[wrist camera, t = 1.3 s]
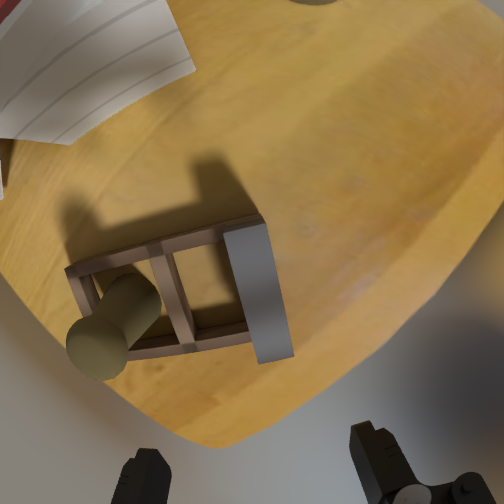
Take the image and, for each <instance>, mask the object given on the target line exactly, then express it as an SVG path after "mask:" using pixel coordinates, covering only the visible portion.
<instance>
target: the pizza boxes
mask: <svg viewBox="0 0 504 504" xmlns="http://www.w3.org/2000/svg"><path fill="white" fill-rule="evenodd" d="M195 71H196V68H195V66H194V64H193V61H192V59H191V57H190V54H189V52H188V50H187V47H186V45H185V43H184V40H183V38H182V36H181V34H180V31H179V29H178V27H177V24H176V22H175V20H174V18H173V15H172V13H171V11H170V9H169V6H168V4H167V2H166V0H0V138H9V139H20V140H30V141H39V142H48V143H56V144H63V145H71V144H72V143H74V142H75V141H76V140H78V139H79V138H80V137H82V136H83V135H84V134H86V133H87V132H89V131H90V130H91V129H93V128H94V127H96V126H97V125H99V124H100V123H102V122H103V121H105V120H106V119H108V118H109V117H111V116H112V115H114V114H116V113H117V112H119V111H120V110H122V109H124V108H125V107H127V106H129V105H130V104H132V103H134V102H136V101H137V100H139V99H141V98H143V97H144V96H146V95H148V94H150V93H152V92H154V91H156V90H157V89H159V88H161V87H163V86H165V85H167V84H169V83H171V82H173V81H175V80H177V79H179V78H182V77H184V76H186V75H188V74H190V73H193V72H195ZM3 198H4V196H3V187H2V177H1V162H0V200H1V199H3Z"/></svg>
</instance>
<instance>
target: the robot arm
mask: <svg viewBox="0 0 504 504" xmlns="http://www.w3.org/2000/svg"><path fill="white" fill-rule="evenodd" d="M291 1H294V2H297V3H302V4H308V5H324V4H329V3H332V2H334V1H336V0H291ZM349 448H350V453H351V457H352V460H353V462H354V465H355V468H356V471H357V473H358V476H359V479H360V481H361V484H362V487H363V490H364V492H365V495H366V498H367V501H368V504H496V502H495V500H494V498H493V496H492V494H491V492H490V490H489V489H488V487H487V485H486V483H485V481H484V480H483V478H482V476H481V475H480V474H478V473H475V472H467V473H464V474H462V475H461V476H459V477H458V478H457V479H456V480H455V481H454V482H450V483H446V484H442V485H437V486H427V485H424V484H422V483H420V482H419V481H418V480H417V479H416V477H415V475H414V473H413V471H412V469H411V468H410V466H409V464H408V462H407V460H406V458H405V456H404V454H403V453H402V451H401V448H400V447H399V446H398V443H397V441H396V439H395V437H394V436H393V434H391V433H390V432H389V431H388V430H386V429H385V428H381V429H379V430H376V431H375V429H374V427H373V425H372V423H371V422H370V421H369V420H368V421H365V422H362V423H358V424H355V425H352V426H351V434H350V443H349ZM120 475H121V477H119V481H118V484H117V486H116V489H115V492H114V495H113V498H112V501H111V504H167V499H168V494H169V488H170V483H171V478H172V475H171V469H170V466H169V465H168V464H167V462H166V461H165V460H164V458H163V457H162V455H161V454H160V452H159V451H158V450H157V449H148V448H139V449H138V451H137V454H136V456H135V458H130V459H129V460H128V461H127V463H126V464H125V465H124V466H123V468H122V471H121V474H120Z"/></svg>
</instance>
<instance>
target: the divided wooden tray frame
mask: <svg viewBox="0 0 504 504" xmlns="http://www.w3.org/2000/svg"><path fill="white" fill-rule="evenodd" d="M223 240H225V243H226V247H227V251H228V255H229V259H230V262H231V266H232V270H233V274H234V277H235V281H236V285H237V289H238V292H239V296H240V300H241V303H242V307H243V310H244V314H245V318H246V321H243V322H238V323H233V324H228V325H223V326H218V327H213V328H208V329H202V330H198V329H197V327H196V324H195V321H194V318H193V315H192V313H191V310H190V307H189V304H188V301H187V298H186V295H185V292H184V289H183V286H182V283H181V280H180V277H179V274H178V270H177V267H176V264H175V261H174V257H173V254H172V253H174V252H178V251H182V250H186V249H190V248H194V247H198V246H202V245H206V244H210V243H214V242H218V241H223ZM146 259H150V262H151V265H152V268H153V271H154V275H155V277H156V280H157V283H158V286H159V289H160V292H161V295H162V298H163V300H164V303H165V306H166V309H167V311H168V314H169V317H170V319H171V322H172V324H173V327H174V330H175V332H176V334H174V335H168V336H162V337H156V338H149V339H142V340H137V341H136V342H135V343H134V344H133V345H132V346H131V347H130V348H129V355H128V361H133V360H142V359H151V358H159V357H166V356H174V355H180V354H187V353H194V352H200V351H206V350H211V349H217V348H223V347H228V346H233V345H238V344H243V343H248V342H252V343H253V346H254V350H255V353H256V357H257V360H258V363H259V364H264V363H268V362H273V361H277V360H282V359H286V358H290V357H294V352H293V347H292V342H291V337H290V333H289V328H288V323H287V318H286V313H285V308H284V304H283V299H282V294H281V290H280V285H279V280H278V276H277V271H276V266H275V262H274V257H273V253H272V248H271V244H270V239H269V235H268V230H267V226H266V223H265V221H264V219H263V217H262V215H261V214H260V213H259V214H255V215H250V216H246V217H242V218H238V219H233V220H229V221H225V222H221V223H217V224H213V225H209V226H205V227H201V228H197V229H193V230H189V231H186V232H182V233H178V234H174V235H170V236H166V237H163V238H159V239H155V240H152V241H148V242H144V243H141V244H137V245H133V246H130V247H126V248H123V249H119V250H116V251H112V252H109V253H105V254H102V255H99V256H95V257H92V258H89V259H85V260H82V261H79V262H75V263H73V264H72V265H70V266H68V267H66V268H65V269H64V270H65V273H66V275H67V278H68V281H69V284H70V286H71V289H72V292H73V294H74V297H75V299H76V302H77V304H78V306H79V309H80V311H81V314H82V316H83V318H84V317H86V316H90V315H91V314H92V312H93V310H94V309H95V307H96V306H97V304H98V303H99V301H100V299H99V297H98V294H97V292H96V289H95V287H94V284H93V281H92V278H91V276H90V274H92V273H96V272H100V271H104V270H107V269H111V268H115V267H119V266H123V265H126V264H130V263H134V262H138V261H142V260H146Z"/></svg>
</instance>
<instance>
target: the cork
mask: <svg viewBox="0 0 504 504" xmlns="http://www.w3.org/2000/svg"><path fill="white" fill-rule="evenodd" d="M161 305H162V303H161V299H160V295H159V293H158V291H157V289H156V287H155V286H154V285H153V284H152V283H151V282H150V281H149V280H147V279H146V278H144V277H142V276H140V275H136V274H123V275H121V276H119V277H117V278H116V279H115V280H114V282H113V283H112V284H111V286H110V287H109V288H108V290H107V291H106V293H105V294H104V296H103V297H102V299H101V300H100V301H99V303H98V304H97V306H96V307H95V309H94V310H93V312H92V314H91V315H90V316H86V317H84V318H81V319H79V320H77V321H76V322H75V323H74V324H73V325H72V327H71V328H70V329H69V331H68V333H67V338H66V349H67V353H68V356H69V358H70V360H71V362H72V363H73V364H74V366H75V367H76V368H77V369H78V370H79V371H80V372H81V373H83V374H84V375H86V376H87V377H89V378H92V379H95V380H100V381H105V380H109V379H113V378H115V377H116V376H117V375H119V374H120V373H121V372H122V371H123V370H124V368H125V366H126V363H127V361H128V355H129V348H130V347H131V346H132V345H133V344H134V343H135V342H136V341H137V340H138V339H139V338H140V337H141V336H142V334H143V333H144V332H145V331H146V330H147V329H148V328H149V327H150V326H151V325H152V324H153V323H154V322H155V321H156V320H157V319H158V317H159V315H160V313H161Z"/></svg>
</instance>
